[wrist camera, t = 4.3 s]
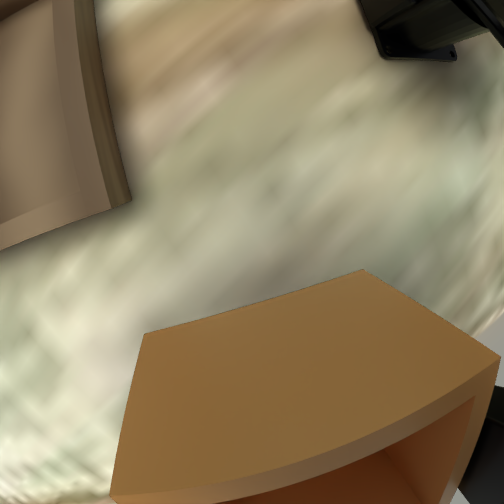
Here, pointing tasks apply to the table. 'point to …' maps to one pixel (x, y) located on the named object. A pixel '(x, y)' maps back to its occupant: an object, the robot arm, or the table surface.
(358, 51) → the table surface
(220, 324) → the small crate
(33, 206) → the walnut crate
